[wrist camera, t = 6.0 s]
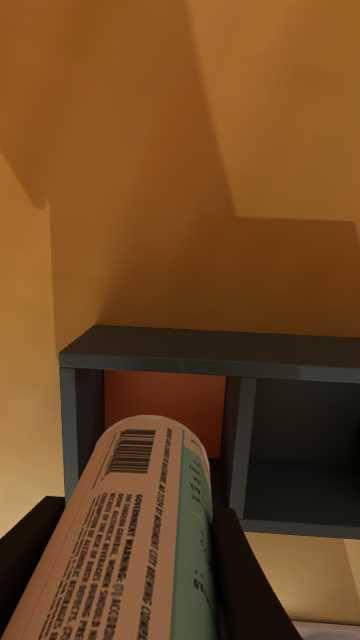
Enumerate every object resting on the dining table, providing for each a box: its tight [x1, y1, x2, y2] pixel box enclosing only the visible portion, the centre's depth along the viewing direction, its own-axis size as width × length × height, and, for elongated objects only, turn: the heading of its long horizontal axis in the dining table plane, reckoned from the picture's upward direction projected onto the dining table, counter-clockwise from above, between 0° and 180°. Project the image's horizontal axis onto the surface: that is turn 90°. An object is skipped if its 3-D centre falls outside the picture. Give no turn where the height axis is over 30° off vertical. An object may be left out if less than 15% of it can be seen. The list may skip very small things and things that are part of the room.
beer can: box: [1, 415, 221, 640], centre depth 8 cm, size 5×5×12 cm
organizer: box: [59, 325, 360, 540], centre depth 17 cm, size 8×16×5 cm, turn 88°
